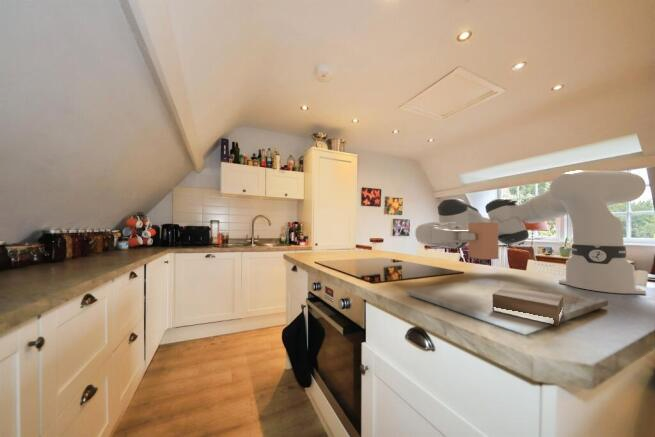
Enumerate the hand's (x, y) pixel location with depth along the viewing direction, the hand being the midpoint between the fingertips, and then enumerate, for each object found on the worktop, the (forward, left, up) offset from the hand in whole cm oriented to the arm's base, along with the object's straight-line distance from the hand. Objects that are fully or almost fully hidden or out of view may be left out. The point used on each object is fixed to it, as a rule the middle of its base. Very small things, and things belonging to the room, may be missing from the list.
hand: (485, 236), depth 67 cm
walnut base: (+6, +10, -17) cm, 20 cm away
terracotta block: (0, -1, -6) cm, 6 cm away
